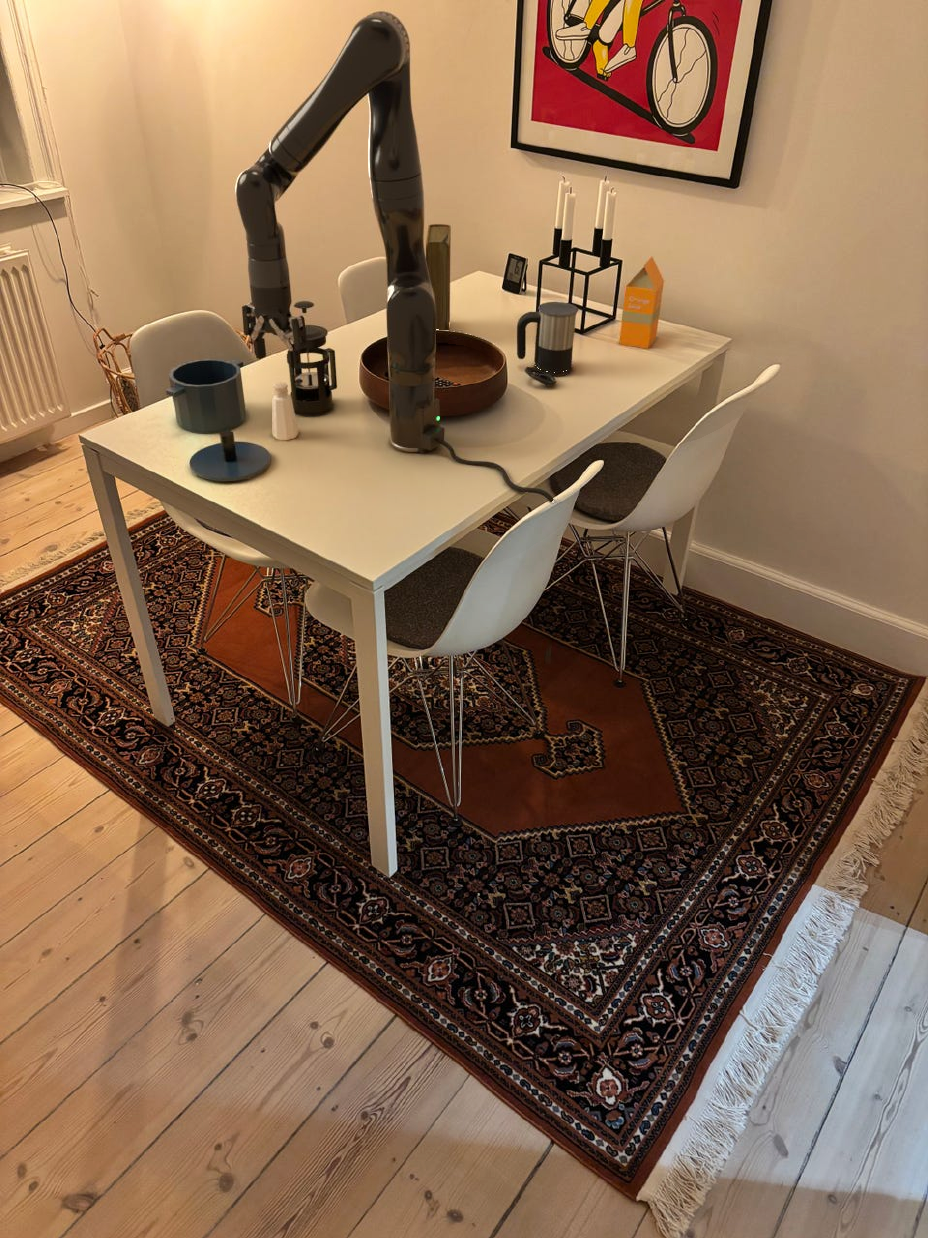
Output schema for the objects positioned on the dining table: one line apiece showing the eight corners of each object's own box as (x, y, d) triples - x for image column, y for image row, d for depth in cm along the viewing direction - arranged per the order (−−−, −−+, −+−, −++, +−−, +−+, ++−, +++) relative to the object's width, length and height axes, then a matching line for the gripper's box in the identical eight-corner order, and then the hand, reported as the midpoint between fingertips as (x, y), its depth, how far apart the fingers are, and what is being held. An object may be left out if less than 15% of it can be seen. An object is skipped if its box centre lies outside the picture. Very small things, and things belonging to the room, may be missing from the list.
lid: (287, 459, 192) (284, 428, 188) (232, 491, 181) (227, 459, 177) (229, 439, 199) (225, 409, 195) (173, 469, 188) (167, 438, 184)
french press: (304, 421, 206) (294, 314, 192) (279, 407, 212) (268, 302, 198) (348, 406, 213) (342, 302, 199) (323, 392, 218) (315, 290, 204)
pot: (268, 410, 210) (263, 364, 204) (203, 444, 197) (195, 396, 191) (220, 394, 216) (213, 350, 210) (153, 426, 203) (144, 379, 197)
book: (429, 322, 255) (428, 223, 240) (449, 323, 255) (450, 224, 240) (426, 345, 242) (425, 242, 227) (448, 346, 242) (449, 243, 227)
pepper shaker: (271, 430, 202) (265, 380, 196) (297, 427, 204) (292, 378, 197) (273, 441, 198) (267, 391, 192) (300, 439, 199) (295, 388, 193)
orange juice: (618, 343, 245) (627, 263, 233) (627, 332, 252) (637, 253, 240) (648, 348, 243) (659, 267, 231) (656, 337, 249) (668, 257, 237)
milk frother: (565, 360, 236) (569, 299, 227) (588, 385, 224) (595, 322, 215) (509, 365, 233) (512, 304, 224) (530, 391, 221) (534, 327, 212)
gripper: (227, 277, 182) (237, 360, 192) (285, 292, 176) (292, 377, 186) (254, 268, 187) (263, 349, 197) (311, 281, 181) (317, 364, 191)
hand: (277, 362), depth 191 cm, fingers open, 8 cm apart
